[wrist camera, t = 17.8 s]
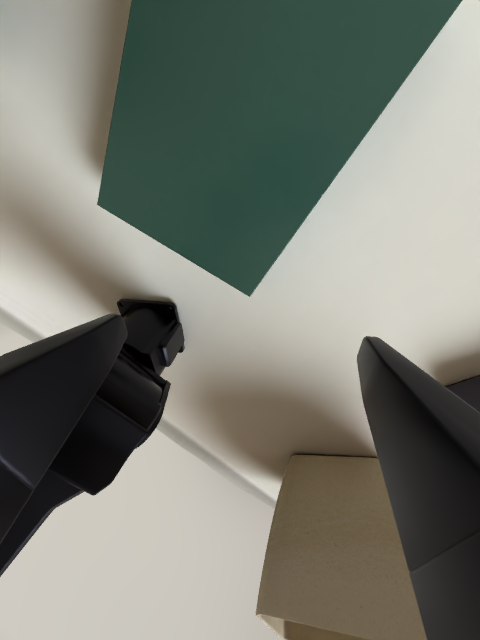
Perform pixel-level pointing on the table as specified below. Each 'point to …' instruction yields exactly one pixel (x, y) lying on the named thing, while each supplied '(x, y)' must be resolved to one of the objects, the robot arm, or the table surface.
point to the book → (249, 116)
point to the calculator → (468, 391)
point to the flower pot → (336, 556)
